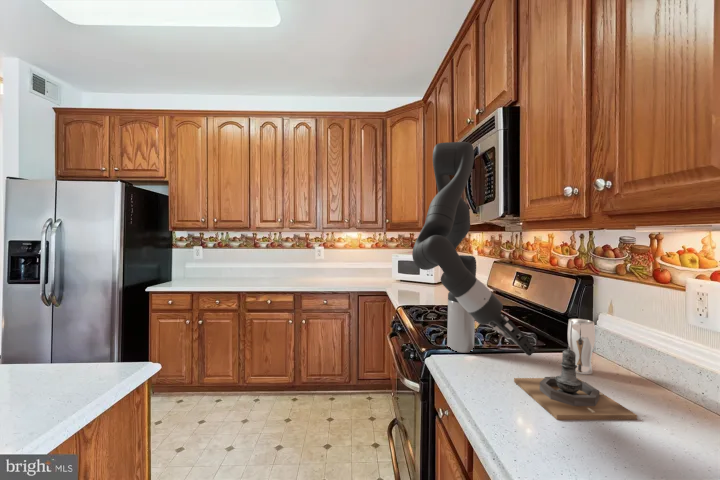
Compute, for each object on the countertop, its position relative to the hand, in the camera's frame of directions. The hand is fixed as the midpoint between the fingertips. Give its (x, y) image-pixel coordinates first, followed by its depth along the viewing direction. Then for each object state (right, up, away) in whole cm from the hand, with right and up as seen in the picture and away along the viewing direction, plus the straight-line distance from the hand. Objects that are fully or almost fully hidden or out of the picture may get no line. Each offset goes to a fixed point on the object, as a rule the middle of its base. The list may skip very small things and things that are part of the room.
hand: (522, 347), depth 87 cm
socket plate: (+11, -13, 0) cm, 17 cm away
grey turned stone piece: (+11, -12, 0) cm, 17 cm away
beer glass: (+26, -13, +19) cm, 35 cm away
